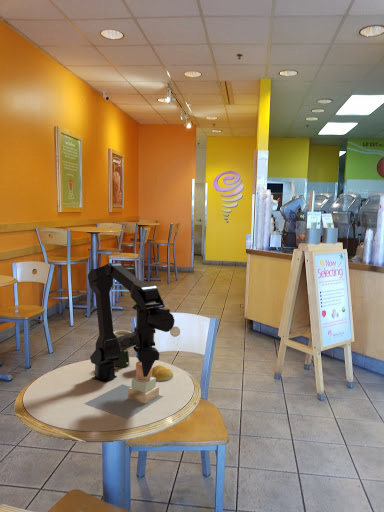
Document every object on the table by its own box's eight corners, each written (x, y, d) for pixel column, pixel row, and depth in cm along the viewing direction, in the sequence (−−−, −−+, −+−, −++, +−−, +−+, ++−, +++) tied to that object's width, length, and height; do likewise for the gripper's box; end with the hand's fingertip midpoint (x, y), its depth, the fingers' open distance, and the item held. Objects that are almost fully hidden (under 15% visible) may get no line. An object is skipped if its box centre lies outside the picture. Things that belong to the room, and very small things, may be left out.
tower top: (131, 388, 128) (131, 379, 128) (142, 383, 133) (142, 374, 133) (145, 392, 126) (145, 383, 125) (155, 387, 130) (156, 377, 130)
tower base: (127, 398, 128) (128, 389, 128) (141, 390, 134) (141, 381, 134) (145, 403, 125) (146, 394, 125) (158, 395, 131) (159, 386, 131)
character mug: (119, 371, 152) (119, 337, 151) (104, 367, 156) (105, 334, 155) (137, 363, 161) (138, 331, 160) (123, 359, 165) (124, 328, 164)
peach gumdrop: (132, 376, 128) (132, 364, 128) (142, 371, 133) (142, 359, 132) (145, 380, 126) (145, 367, 125) (155, 375, 130) (155, 362, 130)
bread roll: (159, 384, 142) (160, 373, 141) (145, 376, 148) (145, 365, 148) (178, 379, 147) (178, 368, 147) (163, 371, 154) (163, 361, 154)
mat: (84, 404, 124) (84, 403, 124) (122, 385, 139) (122, 384, 139) (127, 420, 115) (127, 418, 115) (163, 397, 131) (163, 396, 131)
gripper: (117, 318, 135) (116, 364, 136) (122, 334, 117) (121, 386, 118) (150, 317, 138) (149, 362, 139) (160, 332, 120) (158, 384, 121)
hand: (144, 373), depth 129 cm, fingers closed on peach gumdrop, 5 cm apart
